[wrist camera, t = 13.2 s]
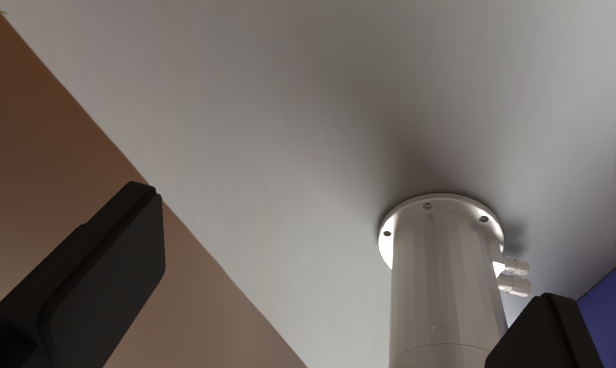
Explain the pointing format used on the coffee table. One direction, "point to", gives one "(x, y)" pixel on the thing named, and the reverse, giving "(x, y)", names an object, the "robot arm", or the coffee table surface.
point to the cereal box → (602, 317)
